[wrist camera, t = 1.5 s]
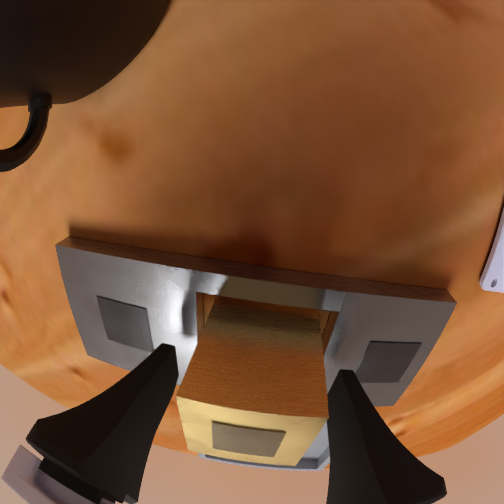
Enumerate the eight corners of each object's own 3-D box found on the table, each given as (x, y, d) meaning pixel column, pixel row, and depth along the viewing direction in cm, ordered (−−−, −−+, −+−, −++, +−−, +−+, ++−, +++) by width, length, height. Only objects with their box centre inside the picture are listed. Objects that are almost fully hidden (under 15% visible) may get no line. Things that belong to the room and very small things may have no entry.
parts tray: (369, 395, 14) (372, 413, 13) (321, 458, 19) (321, 471, 18) (195, 377, 15) (189, 395, 14) (202, 444, 20) (199, 457, 19)
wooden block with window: (317, 305, 12) (328, 419, 7) (297, 370, 14) (295, 467, 9) (218, 291, 12) (175, 397, 7) (216, 358, 14) (188, 451, 9)
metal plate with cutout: (446, 289, 11) (457, 303, 10) (389, 391, 14) (393, 406, 13) (69, 236, 12) (54, 245, 11) (96, 344, 16) (87, 356, 14)
